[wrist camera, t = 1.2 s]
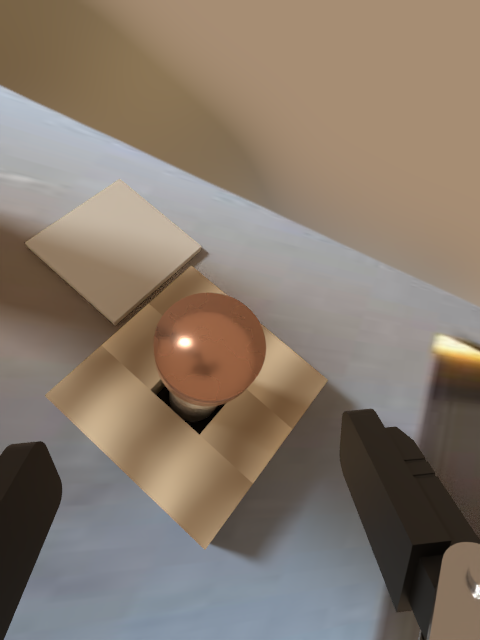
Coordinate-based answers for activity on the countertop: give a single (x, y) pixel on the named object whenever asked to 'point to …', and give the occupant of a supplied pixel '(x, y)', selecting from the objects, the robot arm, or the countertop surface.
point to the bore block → (171, 430)
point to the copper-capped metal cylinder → (207, 352)
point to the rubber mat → (114, 250)
